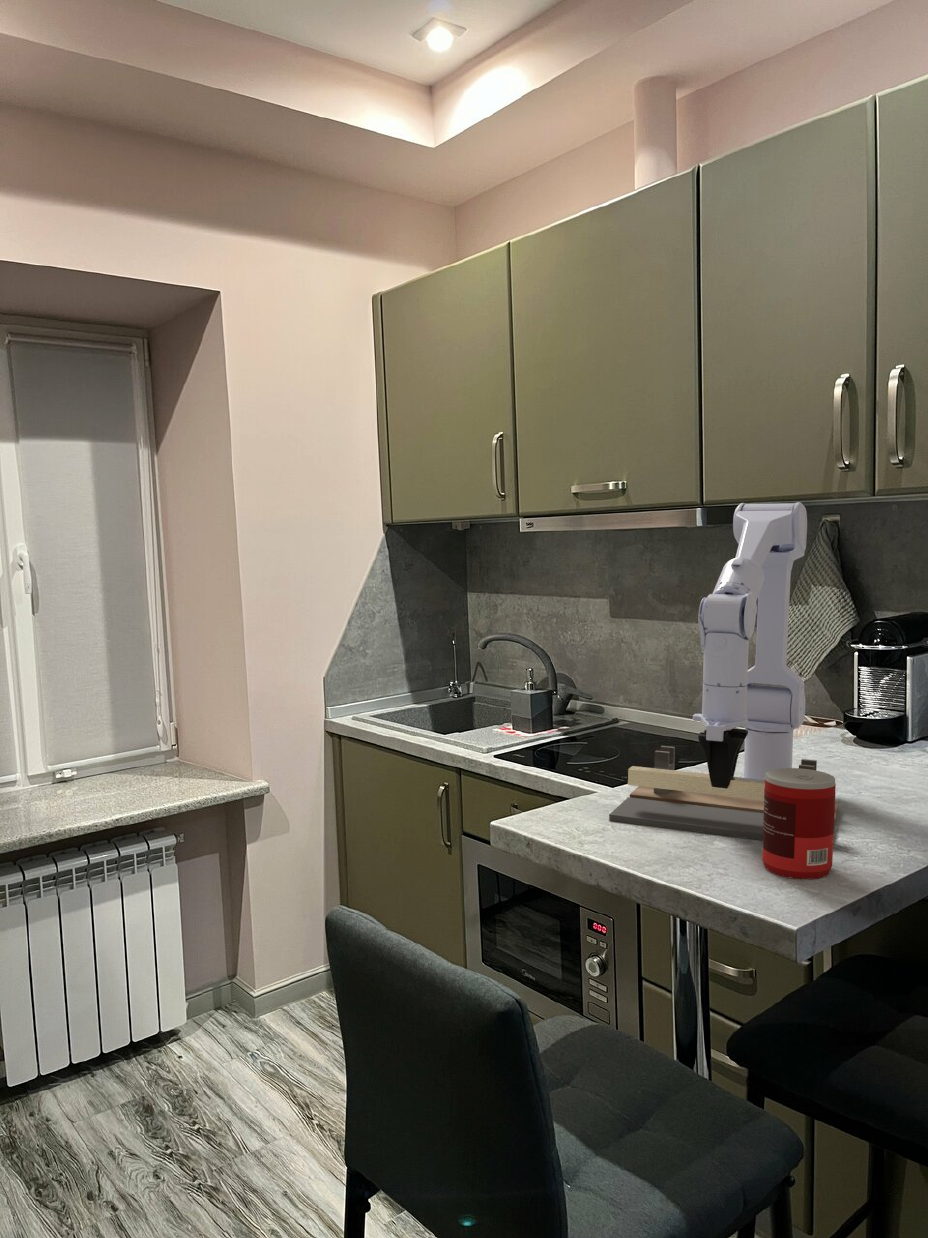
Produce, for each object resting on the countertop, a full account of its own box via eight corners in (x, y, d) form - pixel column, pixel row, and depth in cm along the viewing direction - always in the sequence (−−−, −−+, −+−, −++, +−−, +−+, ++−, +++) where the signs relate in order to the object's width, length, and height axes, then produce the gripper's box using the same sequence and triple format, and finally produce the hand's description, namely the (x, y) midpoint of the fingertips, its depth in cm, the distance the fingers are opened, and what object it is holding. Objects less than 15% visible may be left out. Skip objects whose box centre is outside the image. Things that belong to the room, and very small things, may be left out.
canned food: (837, 865, 112) (841, 772, 112) (825, 885, 106) (828, 787, 105) (770, 853, 116) (773, 764, 115) (754, 872, 109) (757, 778, 109)
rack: (644, 787, 148) (645, 741, 147) (838, 809, 136) (840, 759, 136) (629, 801, 140) (630, 752, 139) (834, 825, 128) (836, 772, 128)
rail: (631, 781, 134) (632, 766, 134) (821, 802, 124) (822, 786, 124) (627, 784, 132) (628, 769, 132) (820, 806, 122) (820, 789, 122)
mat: (627, 802, 139) (628, 797, 139) (834, 827, 127) (834, 821, 127) (609, 820, 130) (609, 814, 130) (829, 848, 118) (829, 842, 118)
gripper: (704, 675, 135) (701, 770, 136) (683, 689, 122) (680, 793, 123) (756, 679, 132) (752, 775, 133) (740, 693, 119) (737, 800, 120)
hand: (721, 785), depth 128 cm, fingers closed on rail, 2 cm apart
